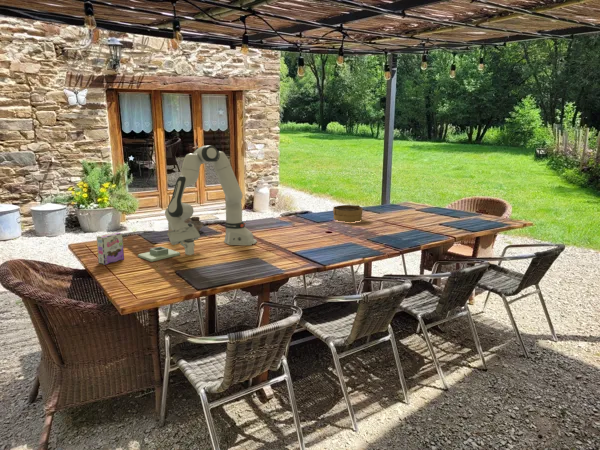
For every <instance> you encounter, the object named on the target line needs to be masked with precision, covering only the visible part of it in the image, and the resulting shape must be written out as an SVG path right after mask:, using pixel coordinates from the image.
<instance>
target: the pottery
mask: <svg viewBox="0 0 600 450" xmlns="http://www.w3.org/2000/svg"><path fill="white" fill-rule="evenodd" d="M184 222H185V223H188V224H193V225H194V228H196V229H197V231H198V232H200V230H201V229H202V227H203V226H204V223H203V221H201V220H200V217H199V216H191V217H190V218H188V219H187V220H184Z"/></svg>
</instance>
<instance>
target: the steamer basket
mask: <svg viewBox="0 0 600 450" xmlns="http://www.w3.org/2000/svg"><path fill="white" fill-rule="evenodd" d="M332 213H333V219H335V220H338V221H345V222H355V221H360V220H362V216H363V207H362V206H357V205H347V204H346V205H336V206H333V210H332ZM362 221H363V220H362Z"/></svg>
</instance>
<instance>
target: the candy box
mask: <svg viewBox="0 0 600 450" xmlns="http://www.w3.org/2000/svg"><path fill="white" fill-rule="evenodd" d="M96 245H97V247H96V248H97V261H98V264H101V265H104V266H105V265H108V264H112V263H115V262H116V263H117V262H119V261H122V260H125V251H124V238H123V233H122V232H117V231H116V232H112V233H111V232H110V233H107V234H102V235H98V236H97V235H96Z"/></svg>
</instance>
